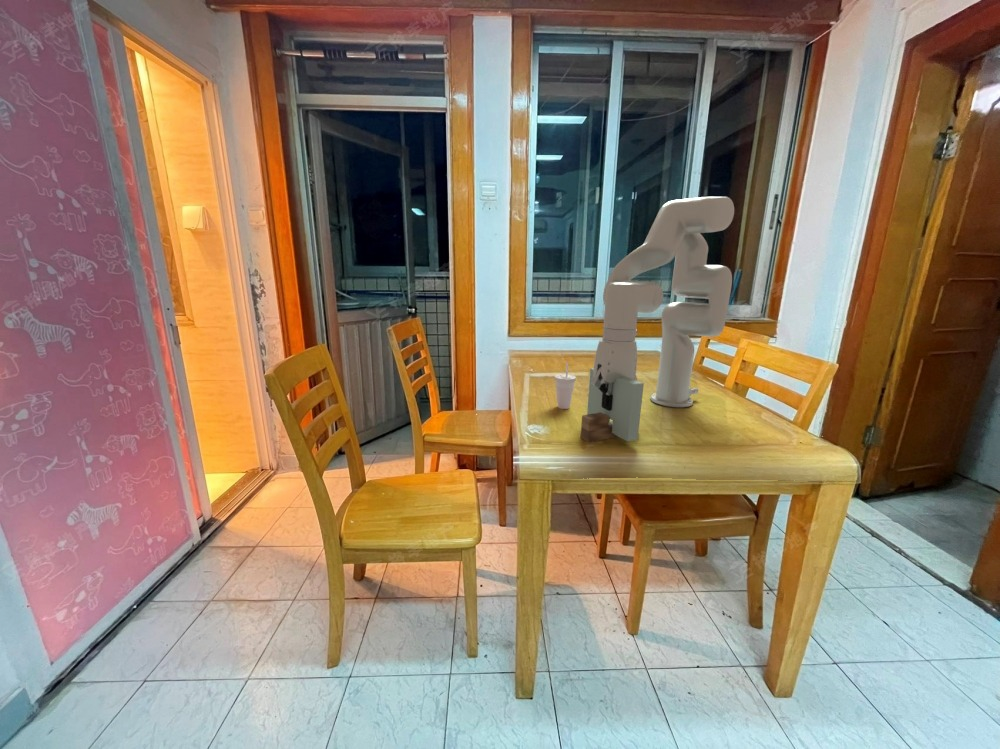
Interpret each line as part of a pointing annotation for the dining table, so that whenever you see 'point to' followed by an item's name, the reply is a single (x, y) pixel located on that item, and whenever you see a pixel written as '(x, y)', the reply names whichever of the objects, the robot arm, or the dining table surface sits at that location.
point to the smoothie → (564, 389)
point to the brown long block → (596, 427)
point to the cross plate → (619, 406)
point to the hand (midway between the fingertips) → (612, 407)
